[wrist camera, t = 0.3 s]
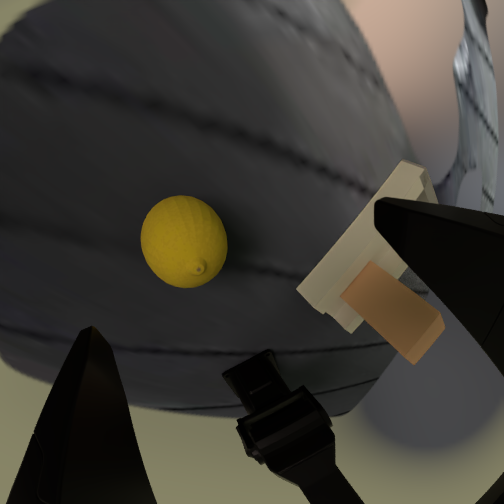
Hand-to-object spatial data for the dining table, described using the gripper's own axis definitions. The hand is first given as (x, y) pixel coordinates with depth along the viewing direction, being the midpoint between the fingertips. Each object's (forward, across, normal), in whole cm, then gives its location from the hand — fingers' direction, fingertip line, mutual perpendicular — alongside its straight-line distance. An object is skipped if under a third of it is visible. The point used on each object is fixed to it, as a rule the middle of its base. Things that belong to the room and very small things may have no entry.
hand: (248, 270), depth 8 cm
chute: (+15, -18, +16) cm, 29 cm away
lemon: (+15, +1, +5) cm, 16 cm away
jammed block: (+14, -14, +19) cm, 27 cm away
